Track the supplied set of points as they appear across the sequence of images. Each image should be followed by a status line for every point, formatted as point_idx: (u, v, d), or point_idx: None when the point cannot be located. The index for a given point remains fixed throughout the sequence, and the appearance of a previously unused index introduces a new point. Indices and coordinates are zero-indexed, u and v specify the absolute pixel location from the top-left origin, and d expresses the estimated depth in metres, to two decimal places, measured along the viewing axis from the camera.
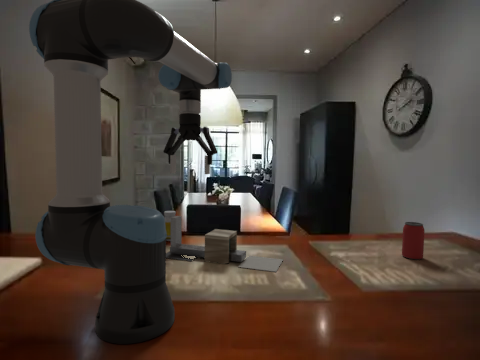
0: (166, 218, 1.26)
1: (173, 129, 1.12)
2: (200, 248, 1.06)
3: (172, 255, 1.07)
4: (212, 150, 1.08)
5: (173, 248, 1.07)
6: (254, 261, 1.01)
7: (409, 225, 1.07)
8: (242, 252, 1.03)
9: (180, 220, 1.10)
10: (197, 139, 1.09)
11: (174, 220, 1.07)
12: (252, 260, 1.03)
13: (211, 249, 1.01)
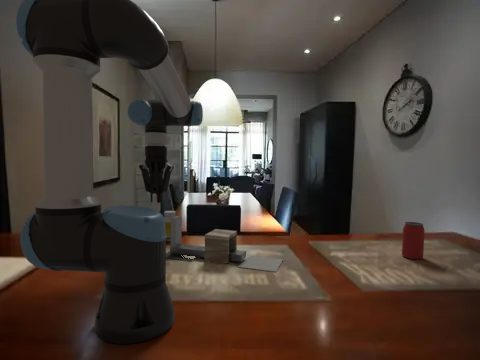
0: (166, 218, 1.26)
1: (141, 166, 1.11)
2: (200, 248, 1.06)
3: (172, 255, 1.07)
4: (162, 189, 1.09)
5: (173, 248, 1.07)
6: (254, 261, 1.01)
7: (409, 225, 1.07)
8: (242, 252, 1.03)
9: (180, 220, 1.10)
10: (157, 174, 1.09)
11: (174, 220, 1.07)
12: (252, 260, 1.03)
13: (211, 249, 1.01)
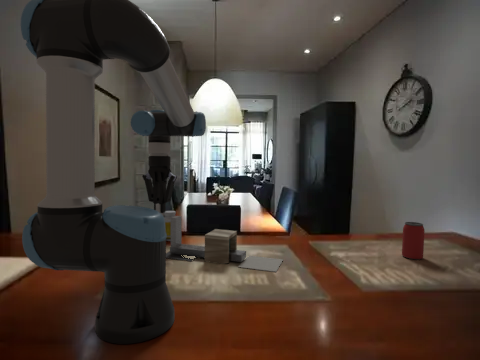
0: (166, 218, 1.26)
1: (144, 176, 1.11)
2: (200, 248, 1.06)
3: (172, 255, 1.07)
4: (165, 199, 1.08)
5: (173, 248, 1.07)
6: (254, 261, 1.01)
7: (409, 225, 1.07)
8: (242, 252, 1.03)
9: (180, 220, 1.10)
10: (160, 184, 1.08)
11: (174, 220, 1.07)
12: (252, 260, 1.03)
13: (211, 249, 1.01)
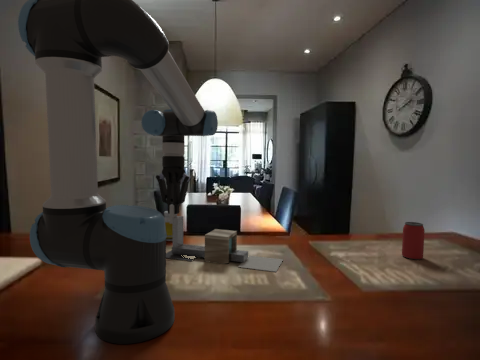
0: (166, 218, 1.26)
1: (157, 176, 1.09)
2: (202, 248, 1.06)
3: (172, 255, 1.07)
4: (179, 200, 1.07)
5: (175, 248, 1.07)
6: (254, 261, 1.01)
7: (409, 225, 1.07)
8: (244, 252, 1.02)
9: (182, 220, 1.10)
10: (174, 184, 1.07)
11: (176, 220, 1.07)
12: (252, 260, 1.03)
13: (211, 249, 1.01)
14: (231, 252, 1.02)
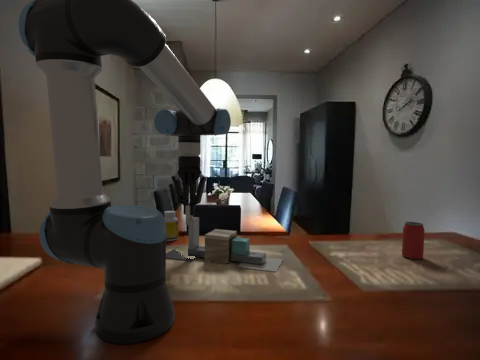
0: (166, 218, 1.26)
1: (173, 177, 1.07)
2: None
3: (172, 255, 1.07)
4: (196, 201, 1.05)
5: (191, 250, 1.05)
6: None
7: (409, 225, 1.07)
8: (262, 254, 1.00)
9: (198, 221, 1.08)
10: (190, 185, 1.05)
11: (192, 221, 1.05)
12: None
13: (211, 249, 1.01)
14: (249, 254, 1.01)
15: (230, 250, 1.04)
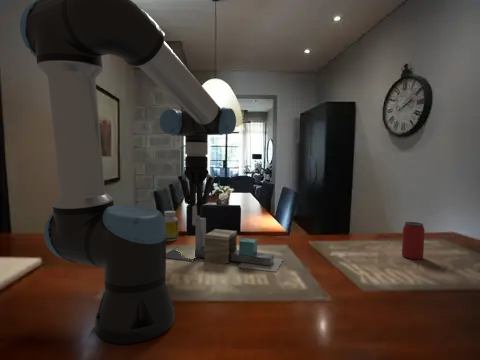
0: (166, 218, 1.26)
1: (180, 177, 1.06)
2: None
3: (172, 255, 1.07)
4: (203, 201, 1.04)
5: (198, 251, 1.04)
6: None
7: (409, 225, 1.07)
8: (270, 255, 1.00)
9: (205, 222, 1.07)
10: (197, 185, 1.04)
11: (199, 222, 1.04)
12: None
13: (211, 249, 1.01)
14: (257, 255, 1.00)
15: (237, 251, 1.04)
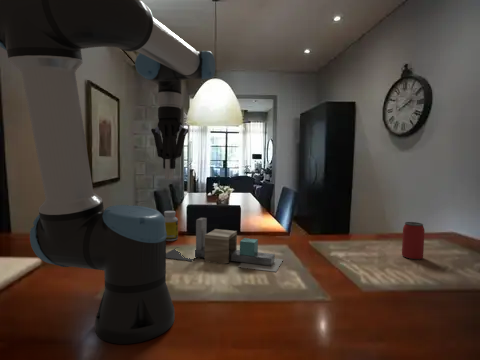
0: (166, 218, 1.26)
1: (153, 130, 1.04)
2: None
3: (172, 255, 1.07)
4: (175, 153, 1.02)
5: (199, 251, 1.04)
6: None
7: (409, 225, 1.07)
8: (271, 255, 1.00)
9: (205, 222, 1.07)
10: (170, 137, 1.02)
11: (200, 222, 1.04)
12: None
13: (211, 249, 1.01)
14: (257, 255, 1.00)
15: (238, 251, 1.04)
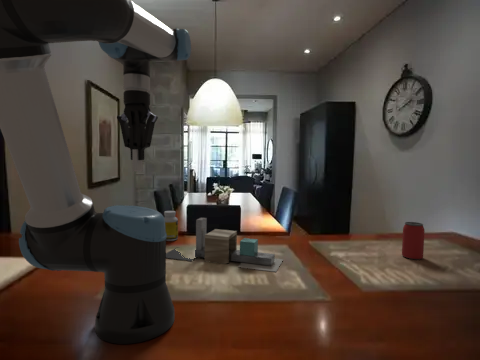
0: (166, 218, 1.26)
1: (119, 117, 0.94)
2: None
3: (172, 255, 1.07)
4: (143, 143, 0.91)
5: (199, 251, 1.04)
6: None
7: (409, 225, 1.07)
8: (271, 255, 1.00)
9: (205, 222, 1.07)
10: (137, 125, 0.91)
11: (200, 222, 1.04)
12: None
13: (211, 249, 1.01)
14: (257, 255, 1.00)
15: (238, 251, 1.04)
